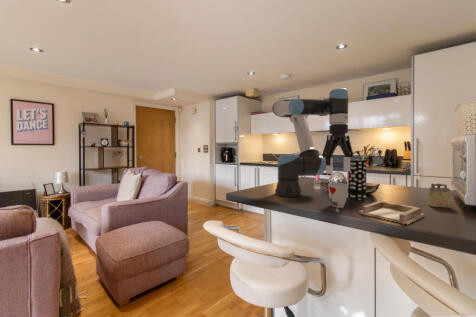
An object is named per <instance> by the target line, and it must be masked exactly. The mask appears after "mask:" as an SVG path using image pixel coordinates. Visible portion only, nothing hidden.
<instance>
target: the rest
mask: <svg viewBox="0 0 476 317" xmlns="http://www.w3.org/2000/svg"><path fill="white" fill-rule="evenodd" d="M361 208H362V209H361V210H359V211H358V212H359V213H358V214H360V215H365V216H369V217H372V218H376V219H380V218H381V220H384V219H385V221H388V220H389V222H392V221H394V222H393V223H397V222H398V224H401V223H402V224H401V225H405V224H407V225H406V226H409V225H410V223H411V224H412V222H413V223H414V222H416V221H418V220H420V219H422V218H424V217H425V213H424V212H423V213H422V212H421V207H416V206H412V205H405V204H399V203H393V202H388V201H382V200H379V201H375V202H373V203H369V204H366V205H363V206H361ZM408 224H409V225H408Z"/></svg>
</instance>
